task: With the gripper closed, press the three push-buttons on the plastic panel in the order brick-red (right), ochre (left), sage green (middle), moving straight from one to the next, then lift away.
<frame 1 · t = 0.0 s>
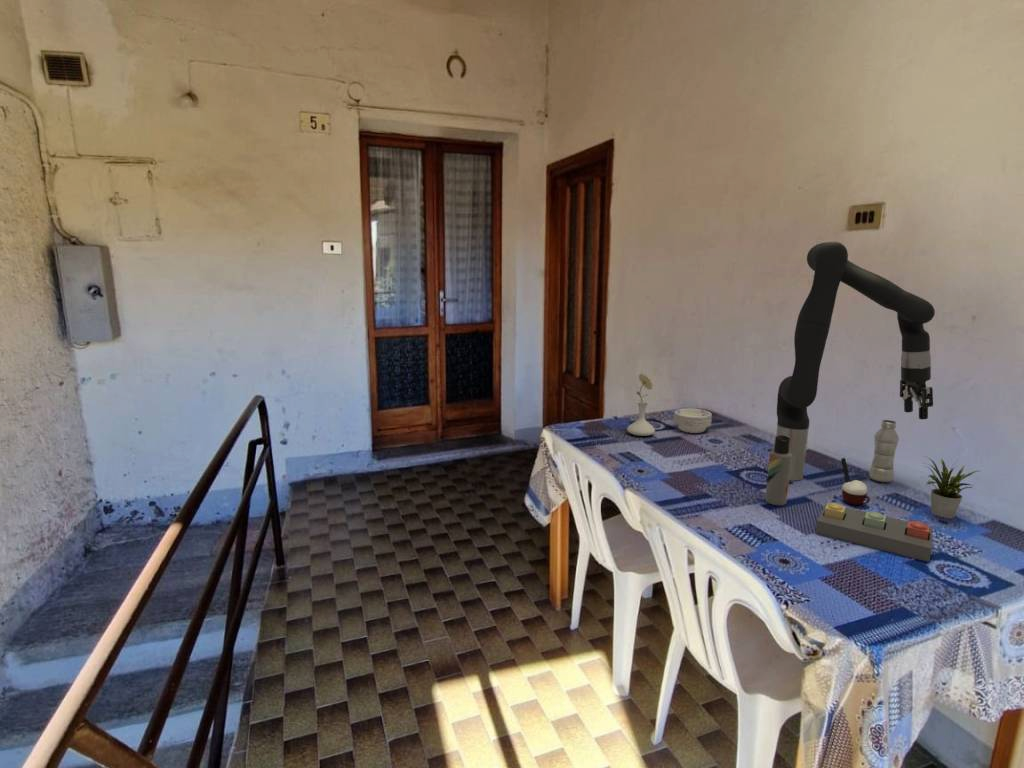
hand: (915, 415, 178), 22 cm above the table, tool pointing down, fingers open, 8 cm apart
lotion bottle: (775, 502, 166), on the table
house plant: (936, 513, 160), on the table
plastic bottle: (880, 481, 183), on the table
ochre button: (834, 511, 150), point 4 cm above the table, slide at 0.0 cm
sage button: (874, 520, 145), point 4 cm above the table, slide at 0.0 cm
cocoa: (852, 502, 167), on the table
paper bowls: (691, 430, 239), on the table
red button: (917, 530, 139), point 4 cm above the table, slide at 0.0 cm
flower in vase: (640, 434, 234), on the table
panel: (872, 536, 145), on the table
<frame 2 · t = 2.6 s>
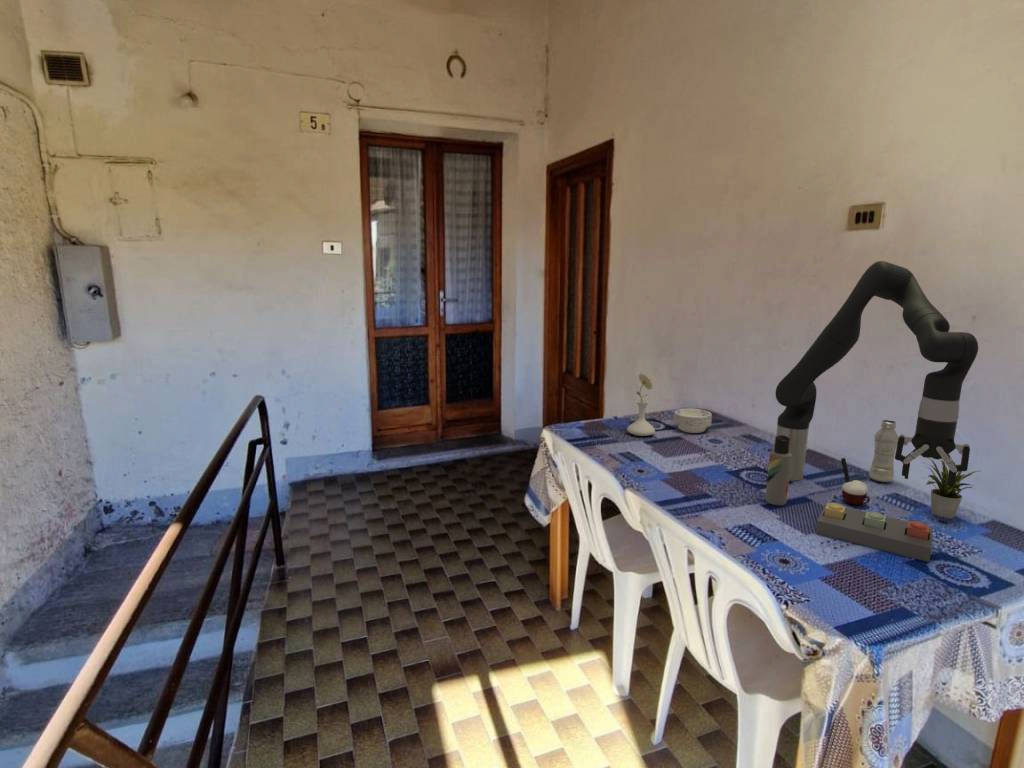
hand: (926, 481, 137), 17 cm above the table, tool pointing down, fingers open, 8 cm apart
nothing on the table moved.
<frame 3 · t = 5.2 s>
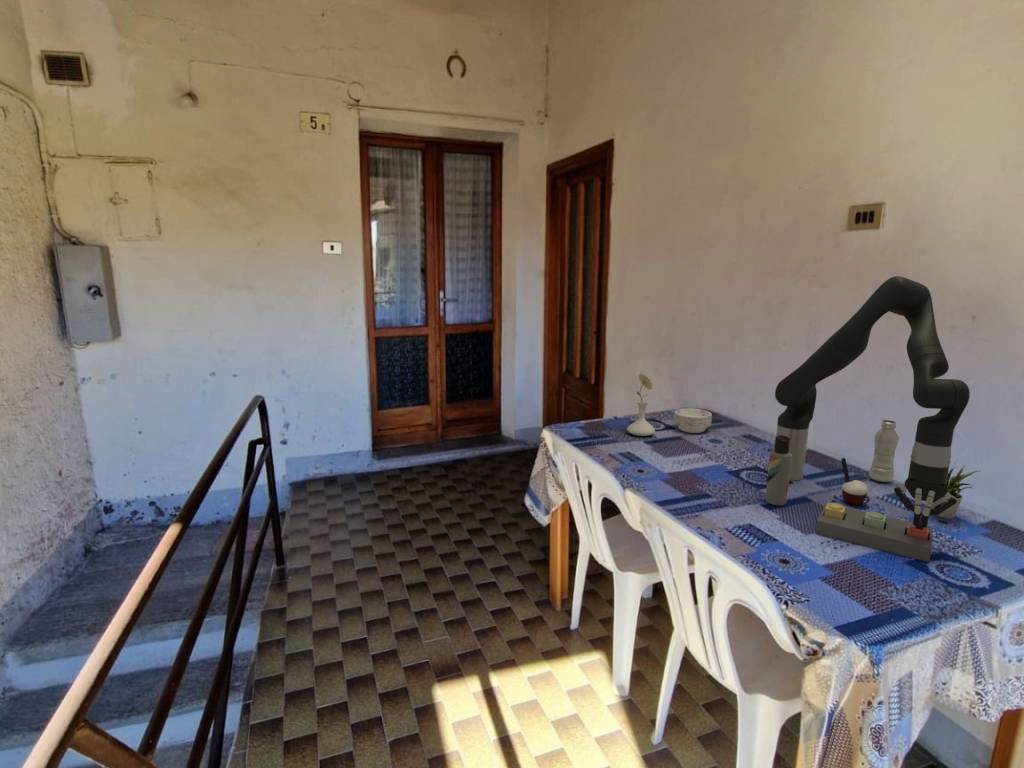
hand: (919, 527, 139), 5 cm above the table, tool pointing down, fingers closed
red button: (917, 534, 139), point 3 cm above the table, slide at 1.0 cm, touching gripper
everything else where it was.
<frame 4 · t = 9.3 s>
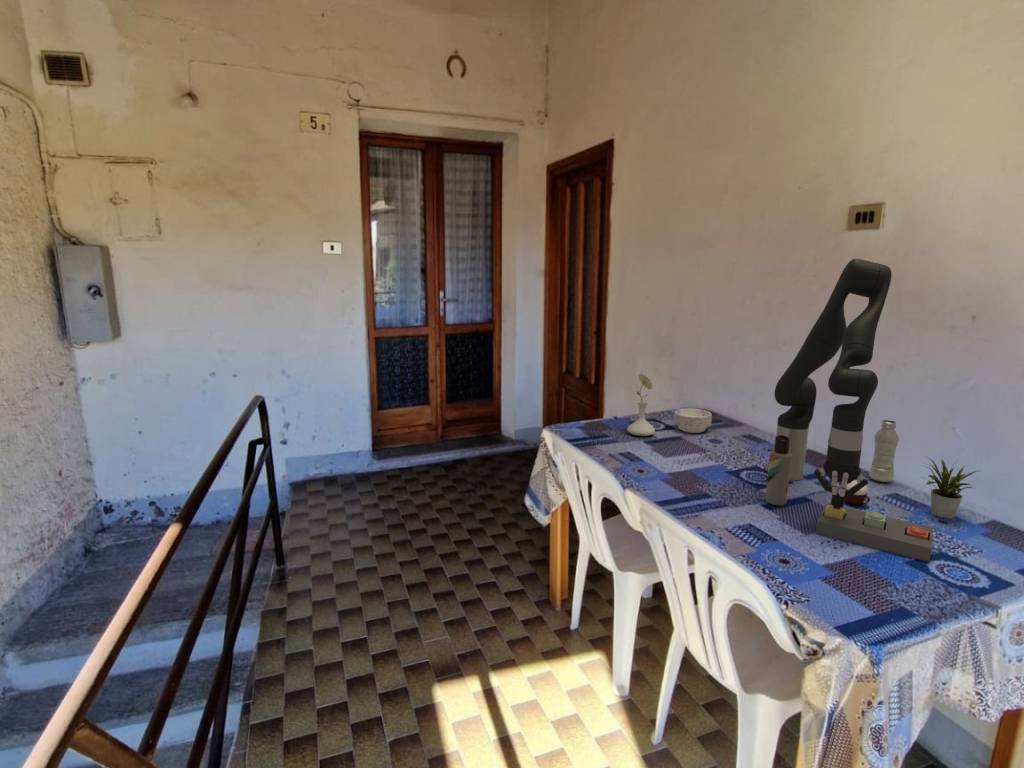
hand: (836, 507, 149), 5 cm above the table, tool pointing down, fingers closed
ochre button: (834, 513, 150), point 4 cm above the table, slide at 0.6 cm, touching gripper
red button: (916, 536, 140), point 3 cm above the table, slide at 1.4 cm
everything else where it was.
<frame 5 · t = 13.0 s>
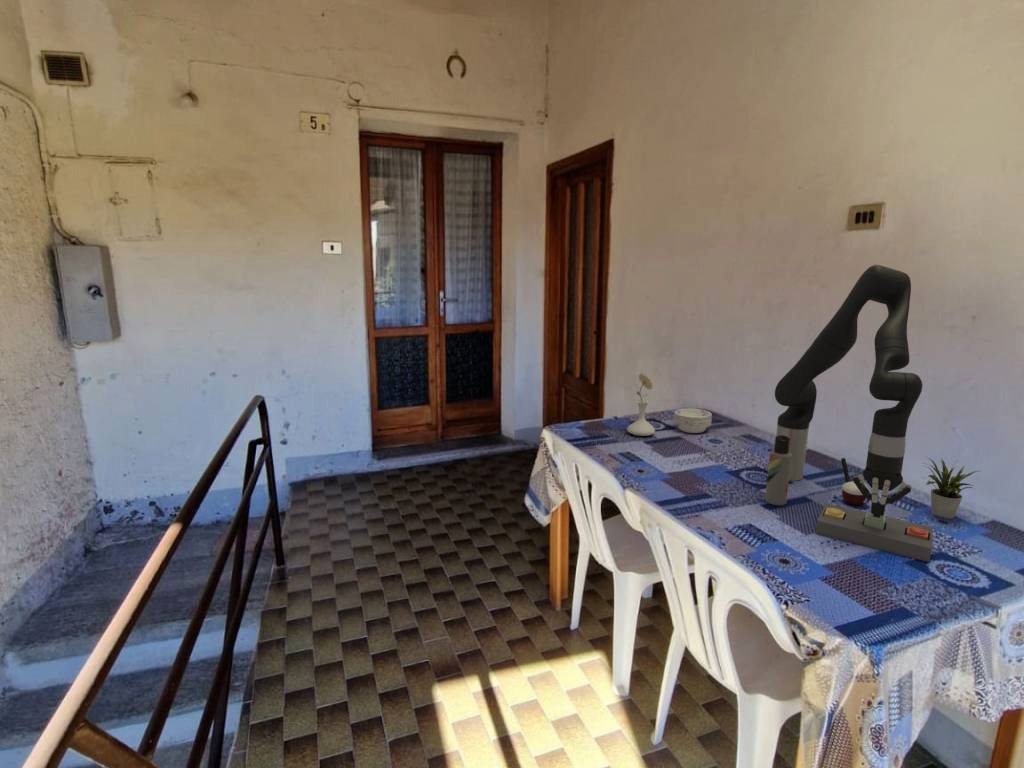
hand: (876, 516, 144), 6 cm above the table, tool pointing down, fingers closed
ochre button: (834, 516, 150), point 3 cm above the table, slide at 1.4 cm
sage button: (874, 522, 145), point 4 cm above the table, slide at 0.4 cm, touching gripper
everything else where it was.
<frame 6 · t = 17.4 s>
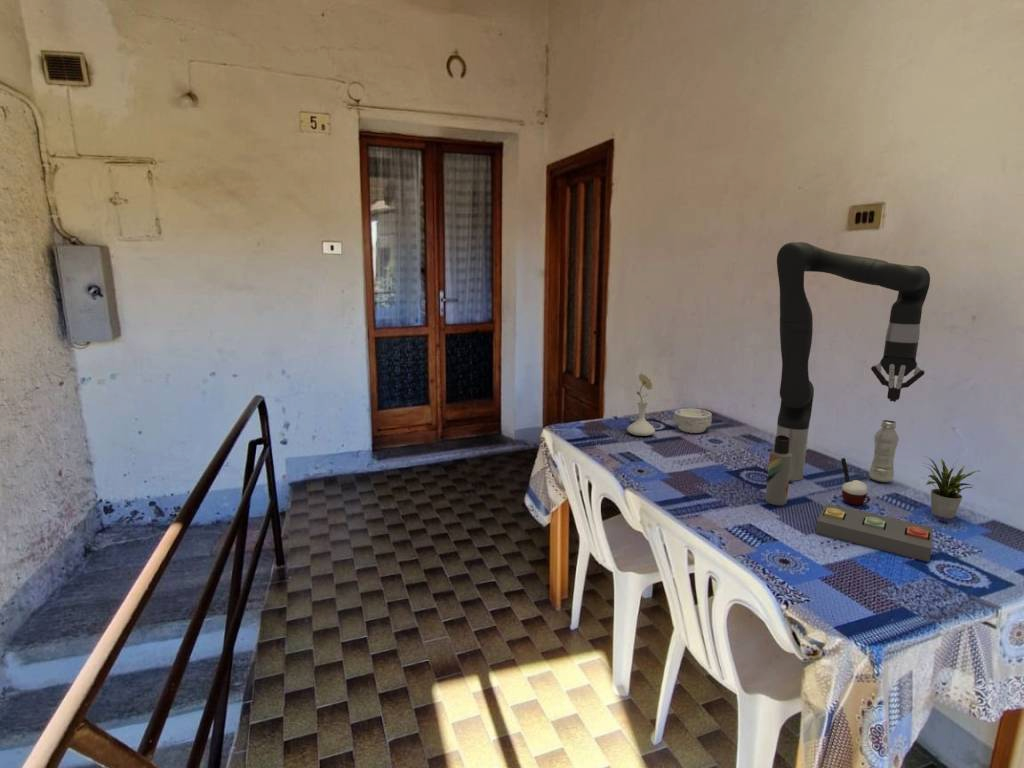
hand: (892, 400, 159), 31 cm above the table, tool pointing down, fingers closed
sage button: (874, 526, 145), point 3 cm above the table, slide at 1.4 cm
everything else where it was.
at the end: red button slide at 1.4 cm; ochre button slide at 1.4 cm; sage button slide at 1.4 cm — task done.
